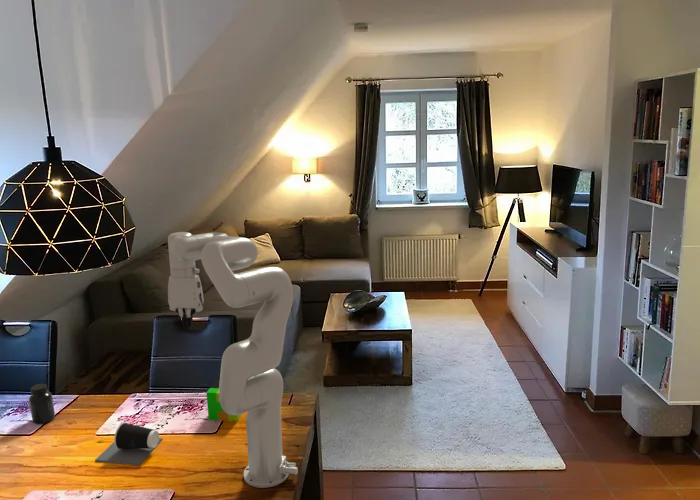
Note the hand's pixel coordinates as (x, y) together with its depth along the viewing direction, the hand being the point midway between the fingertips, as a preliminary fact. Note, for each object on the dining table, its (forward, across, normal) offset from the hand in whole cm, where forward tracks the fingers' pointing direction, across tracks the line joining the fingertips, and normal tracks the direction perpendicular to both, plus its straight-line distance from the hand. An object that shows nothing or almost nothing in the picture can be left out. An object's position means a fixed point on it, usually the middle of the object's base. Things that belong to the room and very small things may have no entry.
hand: (187, 328), depth 184 cm
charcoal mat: (+33, +13, +18) cm, 40 cm away
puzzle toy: (+33, -8, -8) cm, 35 cm away
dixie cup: (+29, +4, +18) cm, 34 cm away
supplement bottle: (+33, +52, +5) cm, 62 cm away
